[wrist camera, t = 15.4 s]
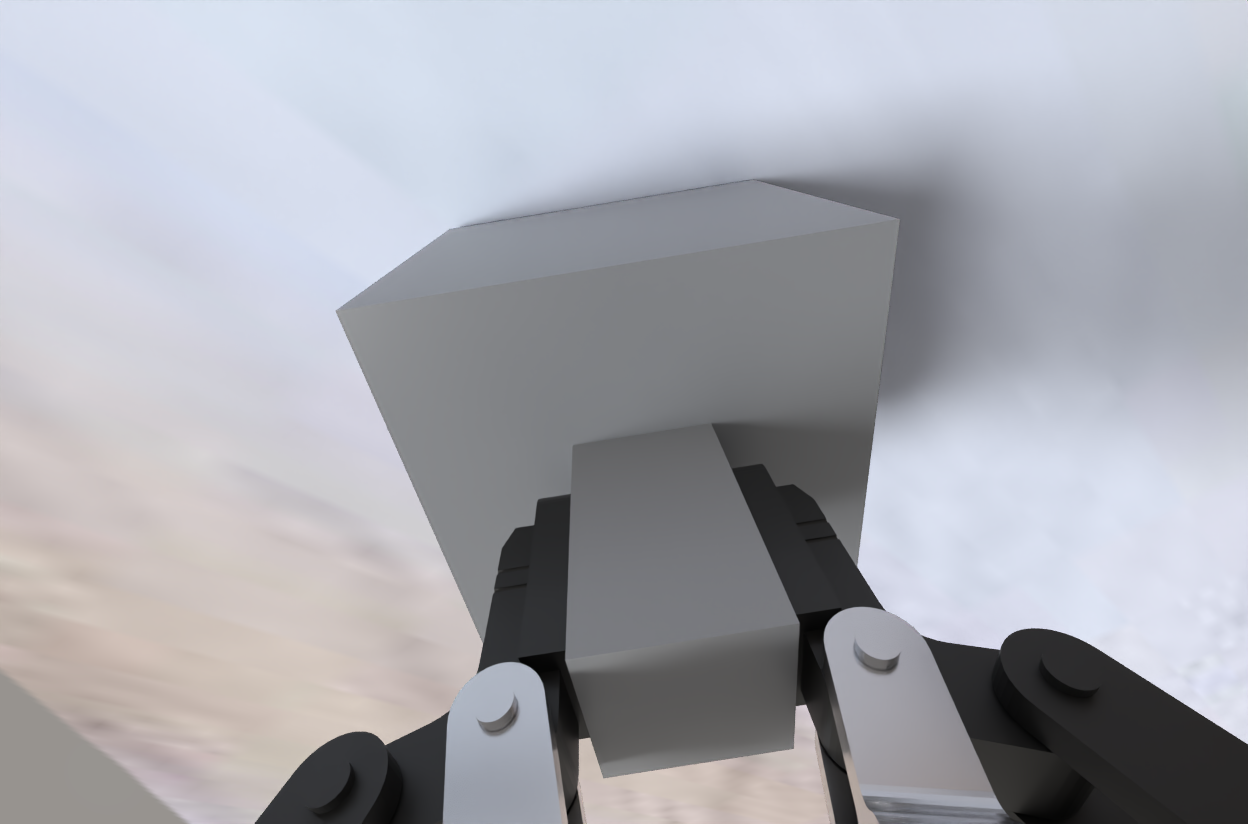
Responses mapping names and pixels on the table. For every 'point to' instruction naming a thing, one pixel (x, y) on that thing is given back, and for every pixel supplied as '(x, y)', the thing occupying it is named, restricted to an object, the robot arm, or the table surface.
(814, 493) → the grey block with knob
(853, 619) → the robot arm
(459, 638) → the table surface
